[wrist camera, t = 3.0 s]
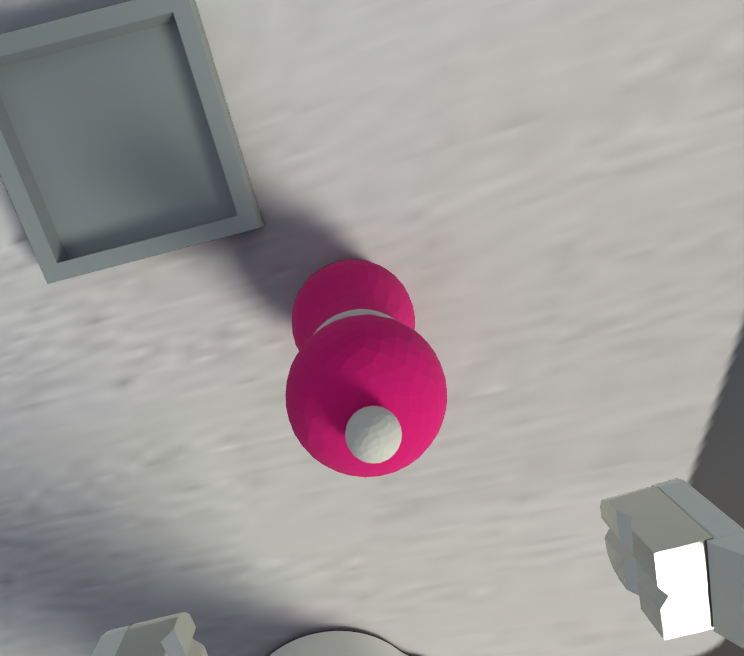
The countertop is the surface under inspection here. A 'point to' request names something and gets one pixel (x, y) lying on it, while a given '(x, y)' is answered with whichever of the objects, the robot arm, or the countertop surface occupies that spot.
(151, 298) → the countertop surface
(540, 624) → the countertop surface
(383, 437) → the pepper mill
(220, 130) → the slate tray
